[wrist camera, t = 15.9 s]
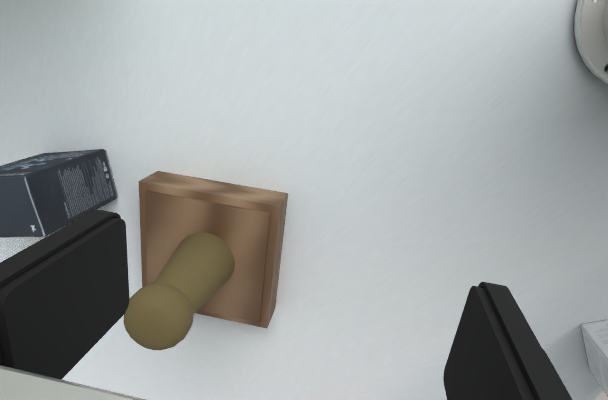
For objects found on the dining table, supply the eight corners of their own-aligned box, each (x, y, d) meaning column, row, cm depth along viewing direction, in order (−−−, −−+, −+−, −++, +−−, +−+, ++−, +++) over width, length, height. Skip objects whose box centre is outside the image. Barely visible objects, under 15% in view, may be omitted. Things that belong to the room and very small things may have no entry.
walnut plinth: (287, 193, 40) (279, 207, 37) (275, 308, 45) (266, 330, 42) (157, 171, 42) (136, 182, 38) (159, 284, 47) (141, 303, 43)
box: (106, 147, 42) (24, 176, 32) (119, 197, 44) (46, 239, 34) (42, 151, 43) (-55, 180, 34) (57, 200, 45) (-30, 241, 36)
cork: (201, 294, 41) (144, 373, 31) (165, 248, 40) (94, 315, 30) (246, 270, 39) (201, 346, 29) (210, 221, 38) (149, 282, 28)
